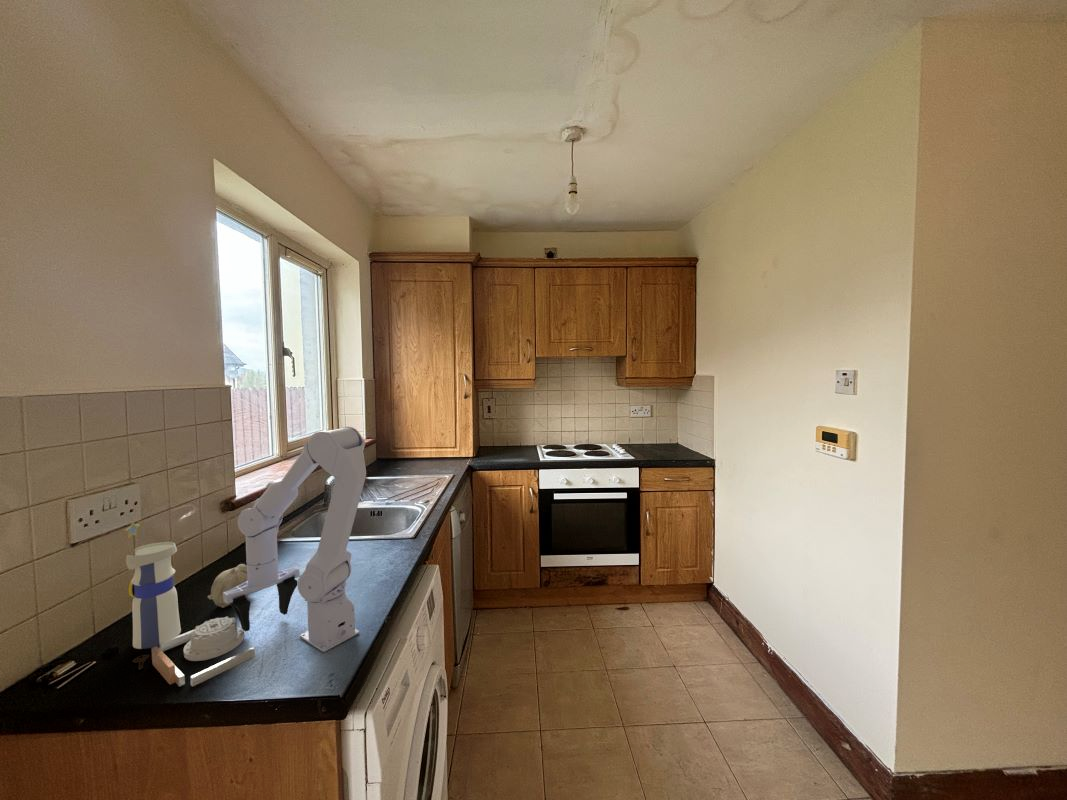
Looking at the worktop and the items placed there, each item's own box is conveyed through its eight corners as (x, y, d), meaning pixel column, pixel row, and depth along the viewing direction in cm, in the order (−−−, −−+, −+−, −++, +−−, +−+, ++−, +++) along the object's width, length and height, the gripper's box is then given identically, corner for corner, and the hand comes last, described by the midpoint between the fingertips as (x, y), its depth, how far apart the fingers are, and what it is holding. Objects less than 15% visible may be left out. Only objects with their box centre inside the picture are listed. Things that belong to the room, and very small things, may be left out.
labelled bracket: (254, 656, 84) (254, 640, 84) (177, 694, 74) (176, 676, 74) (218, 627, 94) (217, 612, 94) (146, 656, 84) (145, 640, 84)
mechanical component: (249, 646, 88) (239, 626, 95) (248, 625, 87) (238, 607, 95) (186, 669, 81) (181, 646, 88) (185, 647, 81) (179, 625, 88)
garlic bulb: (247, 603, 109) (258, 561, 112) (252, 610, 103) (264, 566, 106) (202, 603, 104) (215, 560, 106) (204, 611, 97) (218, 565, 100)
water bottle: (120, 655, 85) (113, 531, 84) (140, 632, 93) (133, 518, 92) (172, 644, 88) (166, 525, 87) (187, 623, 96) (181, 513, 95)
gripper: (288, 545, 101) (290, 601, 102) (215, 568, 90) (219, 631, 90) (303, 551, 97) (305, 610, 98) (230, 576, 85) (233, 642, 86)
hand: (265, 620), depth 94 cm, fingers open, 7 cm apart
